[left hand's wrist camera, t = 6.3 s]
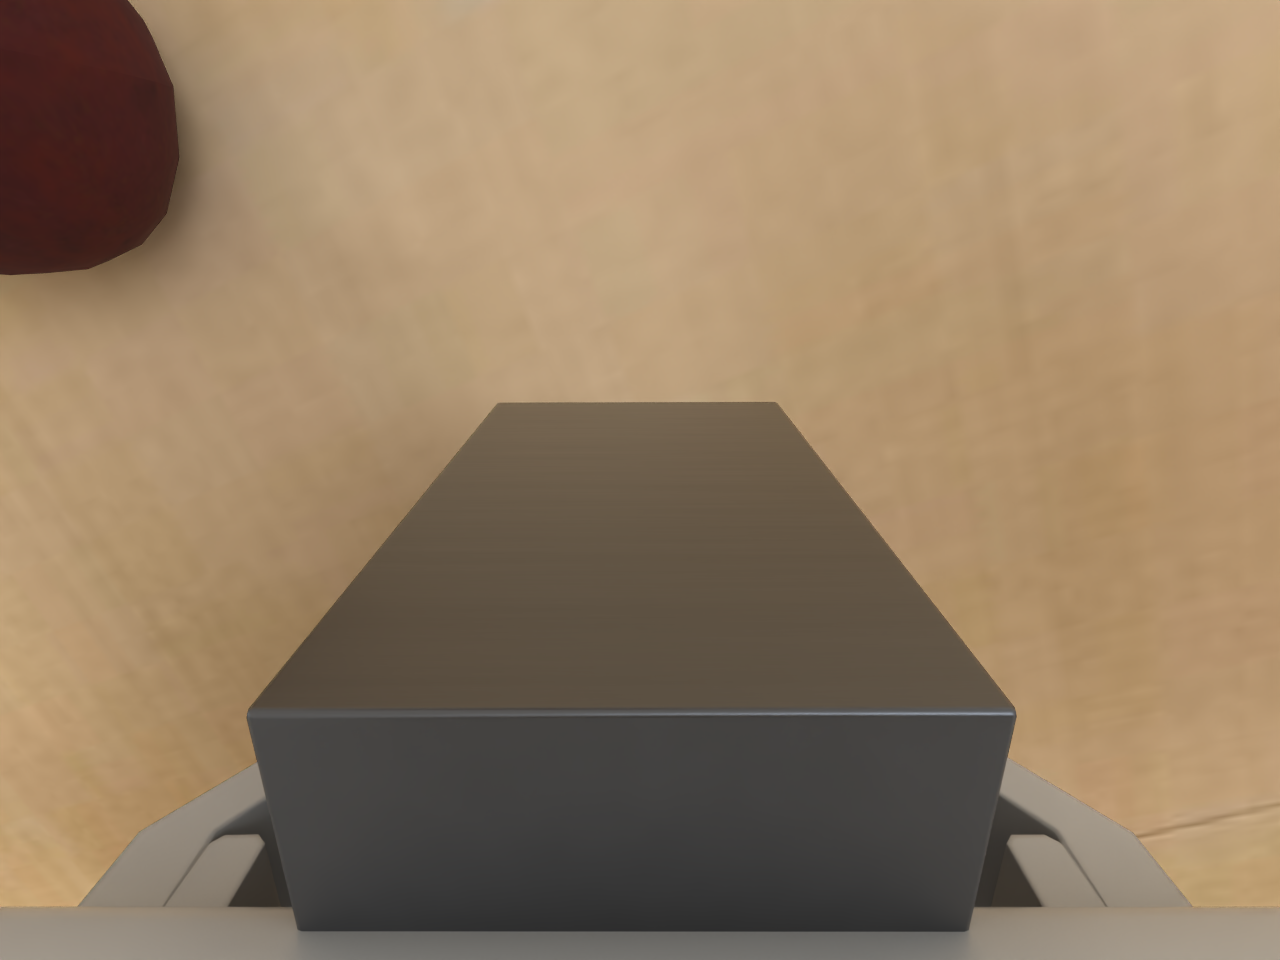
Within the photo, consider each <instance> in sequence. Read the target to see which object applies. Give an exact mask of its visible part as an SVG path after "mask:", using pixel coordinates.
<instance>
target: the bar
mask: <svg viewBox="0 0 1280 960" xmlns="http://www.w3.org/2000/svg"><path fill="white" fill-rule="evenodd" d="M247 721H248V726H249V730H250V734H251V738H252V742H253V746H254V751H255V755H256V759H257V763H258V767H259V771H260V776H261V780H262V784H263V788H264V792H265V796H266V800H267V805H268V809H269V813H270V817H271V821H272V825H273V830H274V834H275V838H276V842H277V846H278V850H279V855H280V859H281V863H282V867H283V871H284V875H285V879H286V884H287V888H288V892H289V896H290V900H291V904H292V909H293V913H294V917H295V921H296V925H297V929H298V930H300V931H485V932H965V931H967V930H969V927H970V922H971V918H972V913H973V909H974V904H975V900H976V895H977V891H978V887H979V882H980V878H981V873H982V869H983V864H984V860H985V855H986V851H987V846H988V842H989V837H990V833H991V828H992V824H993V819H994V815H995V810H996V806H997V801H998V797H999V793H1000V788H1001V784H1002V779H1003V775H1004V770H1005V766H1006V761H1007V757H1008V752H1009V748H1010V743H1011V739H1012V734H1013V730H1014V725H1015V721H1016V711H1015V707H1014V706H1013V705H1012V704H1011V702H1010V701H1009V700H1008V698H1007V697H1006V696H1005V695H1004V693H1003V692H1002V691H1001V689H1000V688H999V687H998V686H997V684H996V683H995V682H994V680H993V679H992V678H991V677H990V675H989V674H988V673H987V671H986V670H985V669H984V668H983V666H982V665H981V664H980V663H979V661H978V660H977V659H976V657H975V656H974V655H973V654H972V652H971V651H970V650H969V648H968V647H967V646H966V645H965V643H964V642H963V641H962V639H961V638H960V637H959V636H958V634H957V633H956V632H955V630H954V629H953V628H952V627H951V625H950V624H949V623H948V621H947V620H946V619H945V618H944V616H943V615H942V614H941V613H940V611H939V610H938V609H937V607H936V606H935V605H934V604H933V602H932V601H931V600H930V598H929V597H928V596H927V595H926V593H925V592H924V591H923V589H922V588H921V587H920V586H919V584H918V583H917V582H916V580H915V579H914V578H913V577H912V575H911V574H910V573H909V572H908V570H907V569H906V568H905V566H904V565H903V564H902V563H901V561H900V560H899V559H898V557H897V556H896V555H895V554H894V552H893V551H892V550H891V548H890V547H889V546H888V545H887V543H886V542H885V541H884V539H883V538H882V537H881V536H880V534H879V533H878V532H877V531H876V529H875V528H874V527H873V525H872V524H871V523H870V522H869V520H868V519H867V518H866V516H865V515H864V514H863V513H862V511H861V510H860V509H859V507H858V506H857V505H856V504H855V502H854V501H853V500H852V498H851V497H850V496H849V495H848V493H847V492H846V491H845V490H844V488H843V487H842V486H841V484H840V483H839V482H838V481H837V479H836V478H835V477H834V475H833V474H832V473H831V472H830V470H829V469H828V468H827V466H826V465H825V464H824V463H823V461H822V460H821V459H820V457H819V456H818V455H817V454H816V452H815V451H814V450H813V449H812V447H811V446H810V445H809V443H808V442H807V441H806V440H805V438H804V437H803V436H802V434H801V433H800V432H799V431H798V429H797V428H796V427H795V425H794V424H793V423H792V422H791V420H790V419H789V418H788V416H787V415H786V414H785V413H784V411H783V410H782V409H781V407H780V406H779V405H778V404H777V403H776V402H633V403H498V404H497V405H496V406H495V407H494V408H493V410H492V411H491V412H490V413H489V414H488V416H487V417H486V418H485V419H484V421H483V422H482V423H481V424H480V426H479V427H478V428H477V429H476V430H475V432H474V433H473V434H472V435H471V437H470V438H469V439H468V440H467V441H466V443H465V444H464V445H463V446H462V448H461V449H460V450H459V451H458V453H457V454H456V455H455V456H454V457H453V459H452V460H451V461H450V462H449V464H448V465H447V466H446V467H445V468H444V470H443V471H442V472H441V473H440V475H439V476H438V477H437V478H436V480H435V481H434V482H433V483H432V484H431V486H430V487H429V488H428V489H427V491H426V492H425V493H424V494H423V495H422V497H421V498H420V499H419V500H418V502H417V503H416V504H415V505H414V507H413V508H412V509H411V510H410V511H409V513H408V514H407V515H406V516H405V518H404V519H403V520H402V521H401V522H400V524H399V525H398V526H397V527H396V529H395V530H394V531H393V532H392V534H391V535H390V536H389V537H388V538H387V540H386V541H385V542H384V543H383V545H382V546H381V547H380V548H379V549H378V551H377V552H376V553H375V554H374V556H373V557H372V558H371V559H370V561H369V562H368V563H367V564H366V565H365V567H364V568H363V569H362V570H361V572H360V573H359V574H358V575H357V576H356V578H355V579H354V580H353V581H352V583H351V584H350V585H349V586H348V588H347V589H346V590H345V591H344V592H343V594H342V595H341V596H340V597H339V599H338V600H337V601H336V602H335V604H334V605H333V606H332V607H331V608H330V610H329V611H328V612H327V613H326V615H325V616H324V617H323V618H322V619H321V621H320V622H319V623H318V624H317V626H316V627H315V628H314V629H313V631H312V632H311V633H310V634H309V635H308V637H307V638H306V639H305V640H304V642H303V643H302V644H301V645H300V646H299V648H298V649H297V650H296V651H295V653H294V654H293V655H292V656H291V658H290V659H289V660H288V661H287V662H286V664H285V665H284V666H283V667H282V669H281V670H280V671H279V672H278V673H277V675H276V676H275V677H274V678H273V680H272V681H271V682H270V683H269V685H268V686H267V687H266V688H265V689H264V691H263V692H262V693H261V694H260V696H259V697H258V698H257V699H256V700H255V702H254V703H253V704H252V705H251V707H250V708H249V710H248V713H247Z"/></svg>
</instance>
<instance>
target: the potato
mask: <svg viewBox="0 0 1280 960" xmlns="http://www.w3.org/2000/svg"><path fill="white" fill-rule="evenodd" d="M178 160H179V149H178V137H177V125H176V114H175V102H174V91H173V85H172V82H171V80H170V78H169V75H168V73H167V71H166V68H165V66H164V64H163V61H162V59H161V56H160V54H159V52H158V49H157V47H156V45H155V42H154V40H153V38H152V36H151V34H150V32H149V30H148V28H147V26H146V24H145V22H144V20H143V19H142V18H141V16H140V15H139V14H138V13H137V11H136V10H135V9H134V8H133V6H132V5H131V4H130V3H129V1H128V0H0V274H3V275H18V274H37V273H52V272H63V271H73V270H83V269H89V268H92V267H94V266H97V265H99V264H101V263H104V262H106V261H109V260H111V259H113V258H115V257H117V256H119V255H121V254H123V253H125V252H127V251H129V250H131V249H133V248H135V247H138V246H140V245H142V244H143V242H144V241H145V240H146V239H147V237H148V236H149V235H150V234H151V232H152V231H153V230H154V229H155V227H156V226H157V225H158V224H159V222H160V221H161V220H162V219H163V217H164V216H165V215H166V214H167V209H168V205H169V200H170V196H171V191H172V187H173V182H174V178H175V174H176V169H177V165H178Z"/></svg>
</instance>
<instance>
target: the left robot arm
mask: <svg viewBox="0 0 1280 960" xmlns="http://www.w3.org/2000/svg"><path fill="white" fill-rule="evenodd" d="M0 960H1280V907H1193V906H1192V905H1191V904H1190V903H1189V901H1188V900H1187V899H1186V898H1185V896H1184V895H1183V894H1182V893H1181V891H1180V890H1179V889H1178V888H1177V887H1176V885H1175V884H1174V883H1173V882H1172V880H1171V879H1170V878H1169V877H1168V875H1167V874H1166V873H1165V872H1164V870H1163V869H1162V868H1161V867H1160V865H1159V864H1158V863H1157V862H1156V861H1155V859H1154V858H1153V857H1152V856H1151V854H1150V853H1149V852H1148V851H1147V849H1146V848H1145V847H1144V846H1143V844H1142V843H1141V842H1140V841H1139V840H1138V838H1137V837H1136V836H1135V835H1134V833H1133V832H1131V831H1129V830H1128V829H1126V828H1124V827H1123V826H1121V825H1119V824H1118V823H1116V822H1114V821H1113V820H1111V819H1109V818H1108V817H1106V816H1104V815H1103V814H1101V813H1099V812H1098V811H1096V810H1094V809H1093V808H1091V807H1089V806H1088V805H1086V804H1084V803H1083V802H1081V801H1079V800H1078V799H1076V798H1074V797H1073V796H1071V795H1069V794H1068V793H1066V792H1064V791H1063V790H1061V789H1059V788H1058V787H1056V786H1054V785H1053V784H1051V783H1049V782H1048V781H1046V780H1044V779H1043V778H1041V777H1039V776H1038V775H1036V774H1034V773H1033V772H1031V771H1029V770H1028V769H1026V768H1024V767H1023V766H1021V765H1019V764H1018V763H1016V762H1014V761H1013V760H1011V759H1009V758H1008V757H1007V761H1006V766H1005V770H1004V775H1003V779H1002V784H1001V788H1000V793H999V797H998V801H997V806H996V810H995V815H994V819H993V824H992V828H991V833H990V837H989V842H988V846H987V851H986V855H985V860H984V864H983V869H982V873H981V878H980V882H979V887H978V891H977V895H976V900H975V904H974V909H973V913H972V918H971V922H970V927H969V930H967V931H965V932H485V931H300V930H298V929H297V925H296V921H295V917H294V913H293V909H292V904H291V900H290V896H289V892H288V888H287V884H286V879H285V875H284V871H283V867H282V863H281V859H280V855H279V850H278V846H277V842H276V838H275V834H274V830H273V825H272V821H271V817H270V813H269V809H268V805H267V800H266V796H265V792H264V788H263V784H262V780H261V776H260V771H259V767H258V763H257V762H256V763H254V764H253V765H251V766H249V767H248V768H246V769H244V770H243V771H241V772H239V773H238V774H236V775H234V776H232V777H231V778H229V779H227V780H226V781H224V782H222V783H221V784H219V785H217V786H216V787H214V788H212V789H211V790H209V791H207V792H205V793H204V794H202V795H200V796H199V797H197V798H195V799H194V800H192V801H190V802H189V803H187V804H185V805H184V806H182V807H180V808H178V809H177V810H175V811H173V812H172V813H170V814H168V815H167V816H165V817H163V818H162V819H160V820H158V821H157V822H155V823H153V824H151V825H150V826H148V827H146V828H145V829H143V830H141V831H140V832H139V833H138V834H137V835H136V836H135V838H134V839H133V840H132V841H131V842H130V844H129V845H128V846H127V847H126V848H125V850H124V851H123V852H122V853H121V854H120V856H119V857H118V858H117V859H116V861H115V862H114V863H113V864H112V865H111V867H110V868H109V869H108V870H107V871H106V873H105V874H104V875H103V876H102V877H101V879H100V880H99V881H98V882H97V883H96V885H95V886H94V887H93V888H92V889H91V891H90V892H89V893H88V894H87V896H86V897H85V898H84V899H83V900H82V902H81V903H80V904H79V905H78V906H77V907H0Z"/></svg>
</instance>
